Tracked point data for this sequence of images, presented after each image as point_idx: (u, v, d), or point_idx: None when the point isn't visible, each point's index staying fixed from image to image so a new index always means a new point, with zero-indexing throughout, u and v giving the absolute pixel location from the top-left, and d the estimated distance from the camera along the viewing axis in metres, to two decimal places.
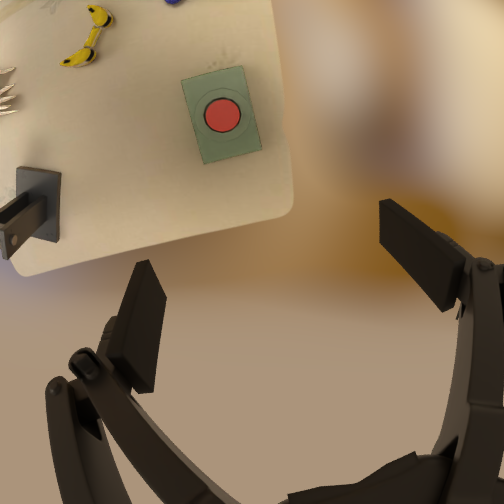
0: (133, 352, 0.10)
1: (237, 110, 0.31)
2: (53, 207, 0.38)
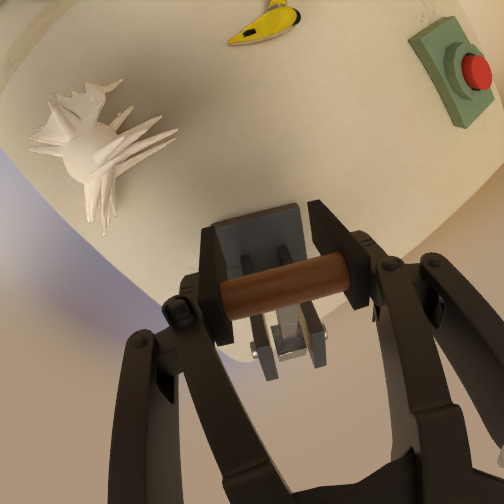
0: (220, 301, 0.12)
1: (488, 65, 0.17)
2: (301, 255, 0.31)
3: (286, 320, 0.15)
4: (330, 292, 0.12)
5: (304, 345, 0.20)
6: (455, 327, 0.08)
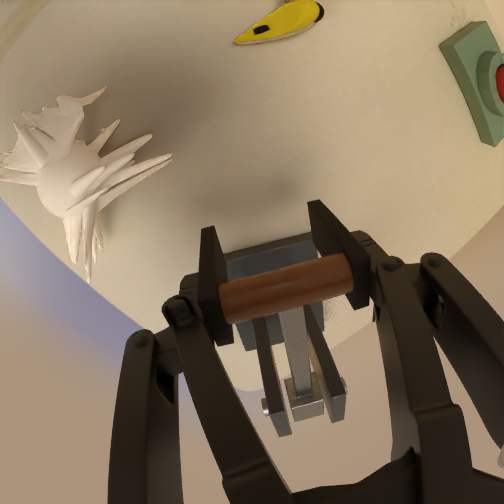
0: None
1: None
2: None
3: (294, 345, 0.14)
4: (333, 288, 0.11)
5: (320, 396, 0.17)
6: (455, 327, 0.08)
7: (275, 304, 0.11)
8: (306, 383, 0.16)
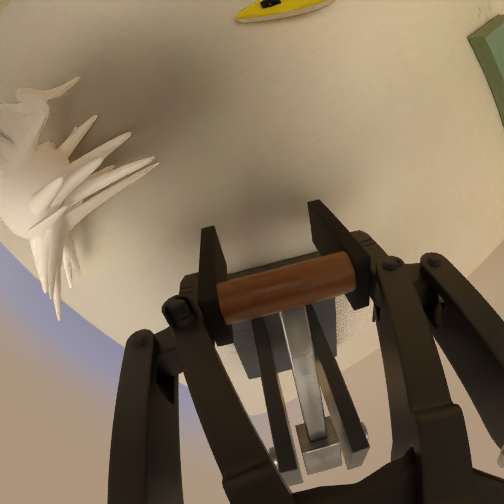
0: None
1: None
2: (329, 313, 0.23)
3: (299, 361, 0.12)
4: (334, 280, 0.11)
5: (336, 439, 0.13)
6: (455, 327, 0.08)
7: (273, 296, 0.11)
8: (318, 421, 0.13)
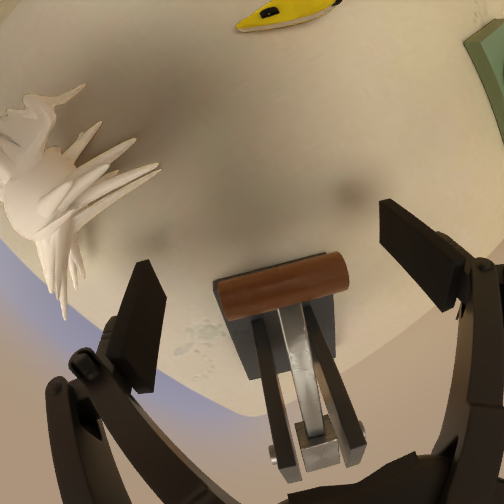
0: (133, 352, 0.10)
1: None
2: (328, 315, 0.24)
3: (297, 356, 0.13)
4: (328, 278, 0.12)
5: (334, 436, 0.14)
6: None
7: (271, 293, 0.12)
8: (316, 417, 0.14)
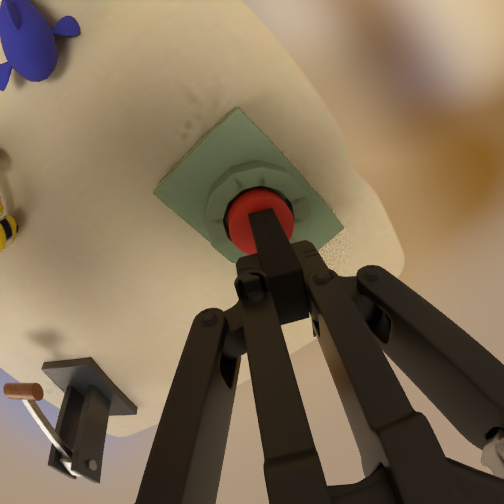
0: None
1: (283, 206, 0.17)
2: (109, 391, 0.31)
3: (36, 419, 0.20)
4: (27, 395, 0.19)
5: (71, 461, 0.20)
6: (406, 342, 0.08)
7: (14, 394, 0.19)
8: (59, 448, 0.20)
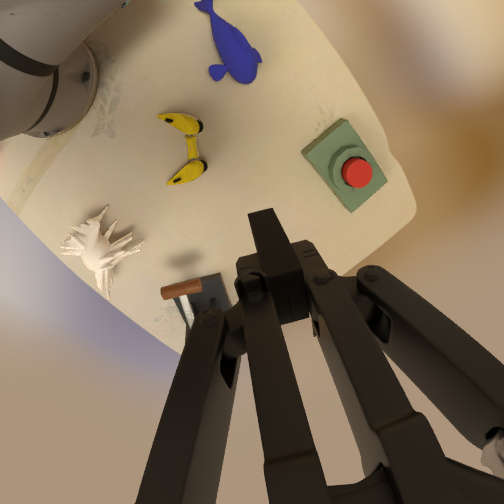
0: None
1: (368, 164, 0.36)
2: (226, 303, 0.49)
3: (187, 313, 0.38)
4: (192, 287, 0.37)
5: None
6: (406, 342, 0.08)
7: (175, 291, 0.37)
8: None
